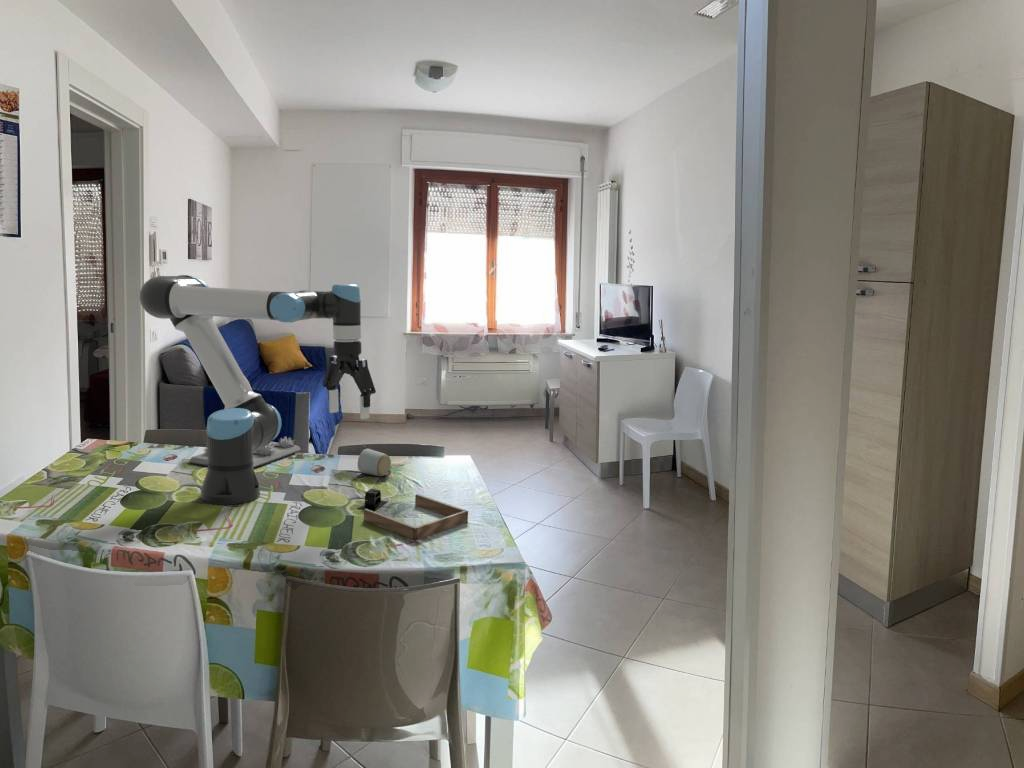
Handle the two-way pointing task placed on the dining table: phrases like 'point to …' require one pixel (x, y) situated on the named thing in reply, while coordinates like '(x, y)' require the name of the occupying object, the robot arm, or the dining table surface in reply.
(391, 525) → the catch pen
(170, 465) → the dining table surface
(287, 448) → the flat grey tray
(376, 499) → the black wall mount bracket
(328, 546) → the dining table surface
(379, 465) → the ceramic mug
